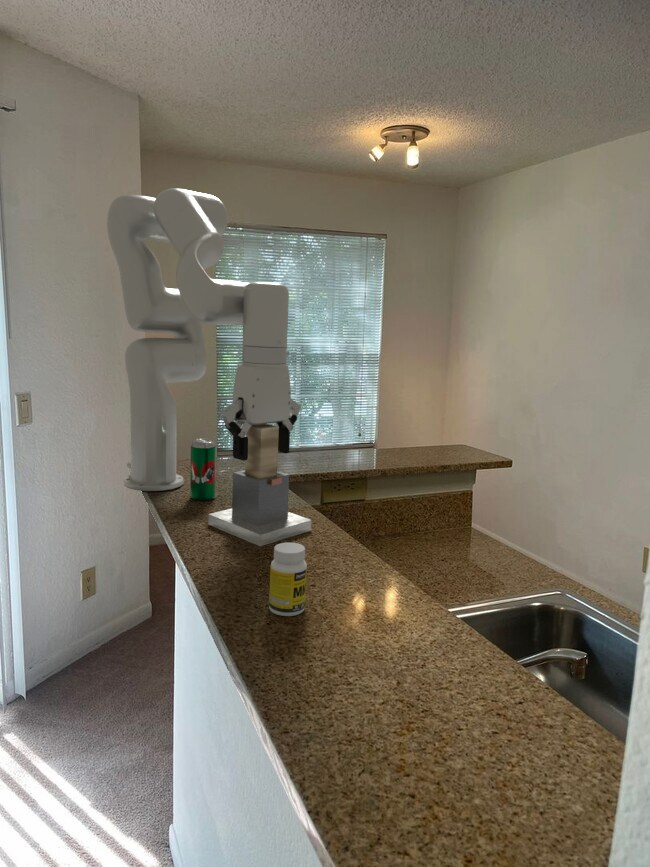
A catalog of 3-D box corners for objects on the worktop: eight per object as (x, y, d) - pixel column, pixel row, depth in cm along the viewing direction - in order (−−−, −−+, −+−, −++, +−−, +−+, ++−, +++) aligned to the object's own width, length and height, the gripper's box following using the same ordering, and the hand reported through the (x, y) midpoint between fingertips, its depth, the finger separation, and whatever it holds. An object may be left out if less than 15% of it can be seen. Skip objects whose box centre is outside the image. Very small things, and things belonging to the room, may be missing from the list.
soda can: (218, 495, 130) (219, 439, 128) (211, 502, 125) (212, 444, 123) (194, 493, 130) (195, 437, 128) (186, 500, 125) (187, 442, 123)
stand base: (208, 524, 112) (209, 470, 110) (259, 511, 121) (260, 461, 119) (260, 546, 103) (261, 487, 101) (310, 530, 111) (313, 476, 109)
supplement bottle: (296, 620, 78) (299, 557, 77) (262, 612, 80) (264, 550, 78) (310, 604, 83) (313, 544, 81) (278, 597, 84) (280, 538, 83)
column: (243, 513, 111) (245, 425, 108) (261, 509, 114) (263, 423, 111) (258, 519, 108) (261, 429, 105) (276, 514, 111) (279, 426, 108)
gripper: (286, 354, 115) (282, 445, 118) (209, 356, 102) (208, 457, 105) (315, 358, 110) (311, 453, 113) (238, 359, 97) (236, 466, 100)
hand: (261, 455), depth 109 cm, fingers open, 9 cm apart
